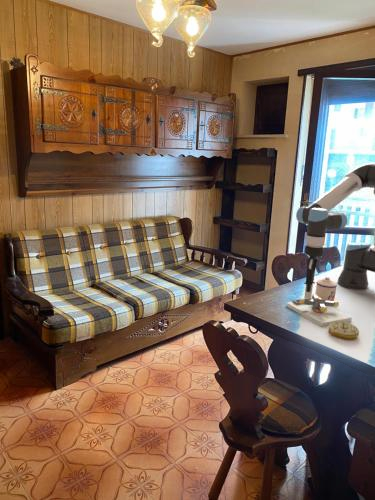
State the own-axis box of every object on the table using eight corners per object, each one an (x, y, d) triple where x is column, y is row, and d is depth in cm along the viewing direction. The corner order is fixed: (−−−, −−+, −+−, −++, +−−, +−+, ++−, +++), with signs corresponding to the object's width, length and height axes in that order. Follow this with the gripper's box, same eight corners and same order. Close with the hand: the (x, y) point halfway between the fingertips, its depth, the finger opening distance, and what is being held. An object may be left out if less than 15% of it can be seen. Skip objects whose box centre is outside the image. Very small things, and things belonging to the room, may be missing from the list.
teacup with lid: (330, 306, 175) (334, 282, 172) (311, 301, 180) (314, 277, 177) (338, 299, 184) (342, 276, 181) (320, 294, 190) (323, 271, 187)
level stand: (313, 301, 179) (314, 295, 179) (351, 321, 160) (352, 314, 159) (285, 306, 172) (286, 299, 172) (320, 326, 153) (322, 319, 152)
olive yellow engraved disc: (327, 326, 154) (329, 318, 153) (356, 331, 151) (358, 322, 150) (328, 337, 145) (329, 328, 144) (359, 343, 141) (360, 334, 140)
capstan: (294, 300, 174) (295, 290, 173) (331, 303, 174) (333, 293, 172) (302, 315, 158) (304, 304, 157) (344, 318, 157) (345, 307, 156)
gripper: (307, 241, 169) (301, 291, 175) (302, 247, 158) (296, 301, 164) (325, 243, 166) (318, 294, 172) (322, 250, 155) (314, 304, 161)
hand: (307, 297), depth 168 cm, fingers closed
